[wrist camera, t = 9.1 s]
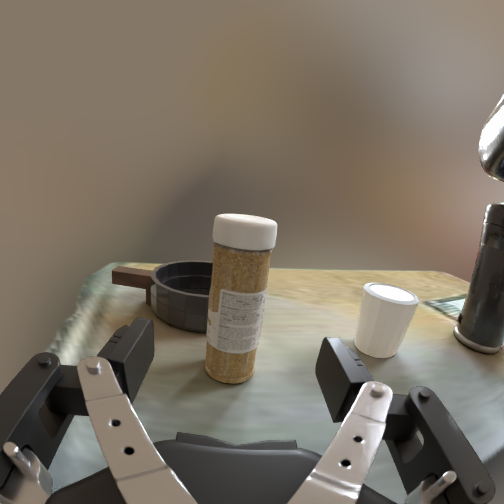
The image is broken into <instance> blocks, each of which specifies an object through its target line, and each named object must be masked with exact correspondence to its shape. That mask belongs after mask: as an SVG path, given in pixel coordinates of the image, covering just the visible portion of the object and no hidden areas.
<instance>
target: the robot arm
mask: <svg viewBox="0 0 504 504" xmlns="http://www.w3.org/2000/svg"><path fill="white" fill-rule="evenodd" d="M479 158H480V162H481V166H482V167H483V169H484V171H485V172H486V173H487V174H488V175H490V176H491V177H493V178H495V179H497V180H500V181H503V182H504V96H503V98H502V100H501V101H500V103H499V104H498V105H497V107H496V108H495V110H494V111H493V112H492V114H491V115H490V117H489V118H488V120H487V122H486V123H485V125H484V128H483V130H482V133H481V137H480V143H479ZM458 319H459V320H457V321H458V323H457V324H456V326H455V329H454V334H455V336H456V337H457V339H458V340H459V341H461V342H462V343H463V344H465V345H466V346H468V347H470V348H472V349H474V350H476V351H479V352H483V353H490V354H491V353H497V352H498V351H499V350H500V347H501V345H502V343H503V341H504V202H502V203H493V204H489V205H488V206H487V207H486V209H485V214H484V223H483V227H482V234H481V239H480V245H479V250H478V254H477V259H476V263H475V268H474V271H473V275H472V279H471V282H470V286H469V289H468V293H467V296H466V299H465V302H464V306H463V308H462V311H461V313H460V315H459V317H458ZM153 357H154V329H153V321H152V320H150V319H144V318H138V317H137V318H136V319H135V320H134V321H133V323H132V324H131V325H130V326H126V325H125V326H123V327H121V328H120V329H118V330H117V331H116V332H115V333H114V334H113V337H111V338H110V340H109V342H107V343H106V345H105V346H104V347H103V348H102V350H101V351H100V352H99V354H98V355H97V356H92V357H87V358H84V359H82V360H81V361H80V362H79V363H78V365H77V366H69V365H61V364H60V360H59V358H58V357H57V356H56V355H55V354H53V353H48V352H44V353H39V354H37V355H35V356H34V357H32V359H31V360H30V361H29V362H28V363H27V364H26V365H25V366H24V368H23V369H22V370H21V371H20V372H19V373H18V374H17V376H16V377H15V378H14V379H13V380H12V381H11V382H10V384H9V385H8V386H7V387H6V389H5V390H4V391H3V392H2V393H1V395H0V503H1V504H397V503H395V502H393V501H391V500H390V499H388V498H386V497H384V496H383V495H381V494H379V493H378V492H376V491H374V490H373V489H371V488H369V487H368V486H366V485H364V484H363V482H364V480H365V478H366V476H367V474H368V471H369V469H370V467H371V465H372V462H373V460H374V457H375V455H376V452H377V450H378V447H379V445H380V442H381V439H382V440H385V441H386V443H387V446H388V448H389V450H390V453H391V455H392V458H393V460H394V463H395V465H396V467H397V470H398V472H399V475H400V477H401V480H402V482H403V485H404V488H405V490H406V493H407V495H408V496H407V498H406V500H405V504H487V503H488V502H490V501H491V500H492V498H493V496H494V494H495V484H494V482H493V480H492V478H491V477H490V475H489V473H488V472H487V470H486V468H485V467H484V465H483V463H482V462H481V460H480V459H479V457H478V455H477V454H476V452H475V451H474V449H473V448H472V446H471V445H470V443H469V441H468V440H467V438H466V437H465V435H464V434H463V432H462V431H461V430H460V428H459V427H458V425H457V424H456V422H455V421H454V419H453V418H452V417H451V415H450V414H449V412H448V411H447V409H446V408H445V407H444V405H443V404H442V402H441V401H440V400H439V398H438V397H437V396H436V394H435V393H434V392H433V391H432V390H430V389H429V388H426V387H422V386H416V387H413V388H412V389H411V390H410V392H409V394H408V395H398V394H393V392H392V390H391V388H390V387H389V386H387V385H386V384H384V383H381V382H377V381H374V379H373V378H372V376H371V374H370V373H369V371H368V370H367V368H366V367H365V366H364V363H363V362H362V361H361V359H360V357H359V356H358V354H357V353H356V352H355V351H353V350H352V349H351V348H349V347H346V346H345V344H344V343H343V341H342V339H341V338H336V337H325V338H324V339H323V342H322V345H321V349H320V352H319V356H318V359H317V362H316V369H315V371H316V377H317V379H318V382H319V385H320V388H321V390H322V393H323V396H324V398H325V401H326V404H327V407H328V409H329V412H330V415H331V418H332V420H333V423H337V422H343V423H342V425H341V426H340V428H339V430H338V432H337V433H336V435H335V437H334V438H333V440H332V442H331V443H330V445H329V446H328V448H327V450H326V451H325V453H324V454H323V456H321V455H319V454H317V453H315V452H312V451H309V450H306V449H302V448H297V443H296V440H266V441H260V442H254V443H248V444H240V445H236V444H232V443H228V442H225V441H221V440H218V439H214V438H211V437H208V436H201V435H194V434H187V433H181V432H177V437H176V440H164V441H159V442H156V443H152V441H151V439H150V438H149V436H148V434H147V433H146V431H145V429H144V427H143V425H142V424H141V422H140V420H139V418H138V416H137V414H136V412H135V411H134V409H133V407H132V403H133V401H134V399H135V397H136V395H137V392H138V390H139V388H140V386H141V384H142V382H143V379H144V377H145V375H146V373H147V371H148V369H149V367H150V364H151V362H152V360H153ZM44 401H45V402H44ZM43 402H44V403H43ZM42 404H43V405H42ZM41 405H42V406H41ZM40 407H41V408H40ZM74 415H81V416H90V420H91V423H92V425H93V428H94V431H95V434H96V437H97V439H98V442H99V445H100V447H101V450H102V452H103V455H104V457H105V459H106V462H107V464H108V466H109V467H107V468H105V469H103V470H101V471H99V472H97V473H95V474H93V475H91V476H88V477H86V478H84V479H82V480H80V481H78V482H75V483H73V484H71V485H68V486H66V487H64V488H61V489H59V490H57V491H55V492H54V493H53V494H52V485H53V481H52V477H51V475H50V473H49V472H48V469H49V467H50V464H51V462H52V460H53V458H54V456H55V454H56V451H57V449H58V447H59V445H60V443H61V441H62V439H63V437H64V435H65V433H66V431H67V429H68V427H69V425H70V423H71V421H72V419H73V417H74ZM418 430H420V432H421V434H422V436H423V438H424V445H423V446H422V444H421V442H420V440H419V438H418V436H417V434H416V433H417V431H418Z"/></svg>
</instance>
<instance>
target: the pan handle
mask: <svg viewBox="0 0 504 504" xmlns="http://www.w3.org/2000/svg"><path fill="white" fill-rule="evenodd" d="M151 272H152V271H150V270H142V269H135V268H128V267H121V266H118V267H117V268H115V269H114V270H112V284H118V285H124V286H130V287H136V288H142V289H146V304H149V305H151Z"/></svg>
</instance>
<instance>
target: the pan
mask: <svg viewBox="0 0 504 504" xmlns="http://www.w3.org/2000/svg"><path fill="white" fill-rule="evenodd" d="M212 268H213V262H209V261H191V260H190V261H176V262H170V263H165V264H163V265H160V266H158V267H156V268H155V269H154V270H153V271H152V272H151V308H152V309H153V311H154V312H155V313H156V315H157V316H159V317H160V318H161V319H162V320H163V321H165V322H166V323H168V324H170V325H172V326H174V327H177V328H180V329H184V330H188V331H194V332H205V333H207V321H208V307H209V294H210V288H211V281H212Z"/></svg>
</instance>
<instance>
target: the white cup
mask: <svg viewBox="0 0 504 504" xmlns="http://www.w3.org/2000/svg"><path fill="white" fill-rule="evenodd" d="M418 303H419V298H418V297H417V296H416V295H415V294H413V293H412V292H410V291H408V290H406V289H403V288H401V287H397V286H394V285H390V284H384V283H368V284H365V285H364V287H363V294H362V300H361V306H360V312H359V317H358V322H357V327H356V332H355V337H354V345H355V346H356V347H357V349H358V350H359V351H361V352H363V353H364V354H366V355H369V356H372V357H375V358H389V357H392V356H393V355H395V354H396V352H397V350H398V348H399V346H400V344H401V342H402V340H403V337H404V335H405V333H406V331H407V329H408V327H409V324H410V322H411V320H412V317H413V315H414V313H415V310H416V308H417V305H418Z"/></svg>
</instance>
